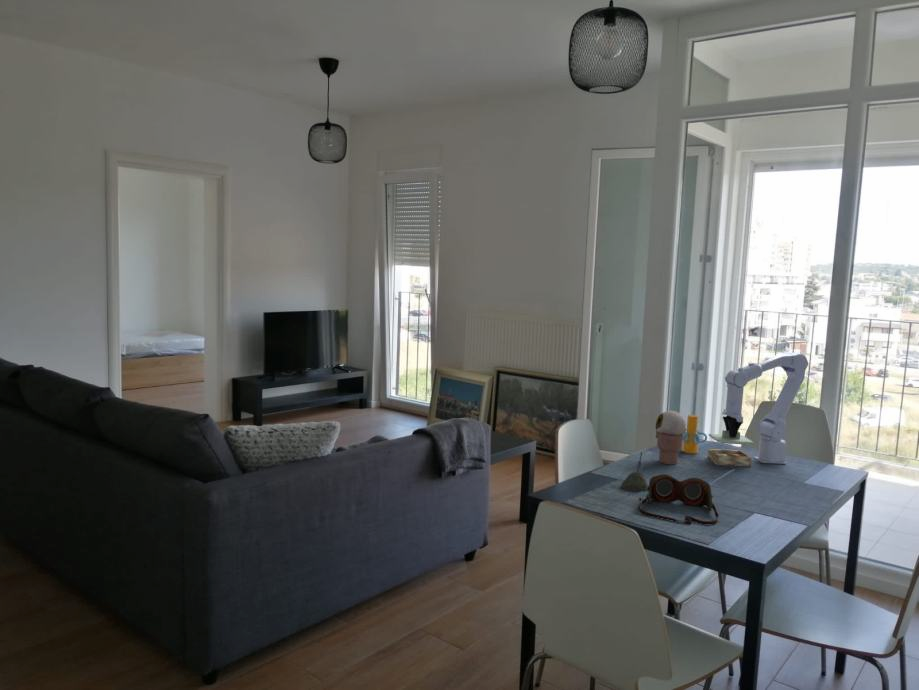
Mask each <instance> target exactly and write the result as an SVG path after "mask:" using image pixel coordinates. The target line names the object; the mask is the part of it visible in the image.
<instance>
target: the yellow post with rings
mask: <svg viewBox="0 0 919 690" xmlns="http://www.w3.org/2000/svg"><path fill="white" fill-rule="evenodd" d="M686 421H687V422H686V429H685V431H684V433H683V439H682V448H681V450H682V452H683V453H686V454H698V451H699V443H702V444H703V443H705V442H707V440H708V436H707V434H706V433H705V432H702V431H701V432H700V431H699V430H698V422H699V416H698V415H696V414H687V420H686ZM700 435H703V436H704V439H703V440H700Z"/></svg>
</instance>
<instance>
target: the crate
mask: <svg viewBox="0 0 919 690" xmlns="http://www.w3.org/2000/svg"><path fill="white" fill-rule="evenodd" d="M707 450H708V451H707V459H708V460H710V461H711V462H712V463H713V464H715V465H716V466H730V467H731V466H733V467H734V466H736V467H751V466H752V456H750V455H748V453H746V452H744V451H743V450H740V449H739V450H736V449H733V450H732V449H717V448H716V449H714V448H713V449H711V448H708V449H707Z"/></svg>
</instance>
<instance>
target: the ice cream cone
mask: <svg viewBox="0 0 919 690" xmlns="http://www.w3.org/2000/svg"><path fill="white" fill-rule="evenodd" d="M685 429H687V422H686V419H685V418H684V416H683V415H682V414H681V413H679V412H678V411H675V410H665V411H663V412H661V413H660V414H659V415H658V417H657V419H656V422H655V430H656V431H655V432H656V435H655V439H656V446H657V449H659V454H658V462H659V463H661V464H665V465H676V464H677V463H678V458H679V452H680V451H681V450H682V448H683V440H682V439H683V433H684V431H685Z"/></svg>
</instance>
